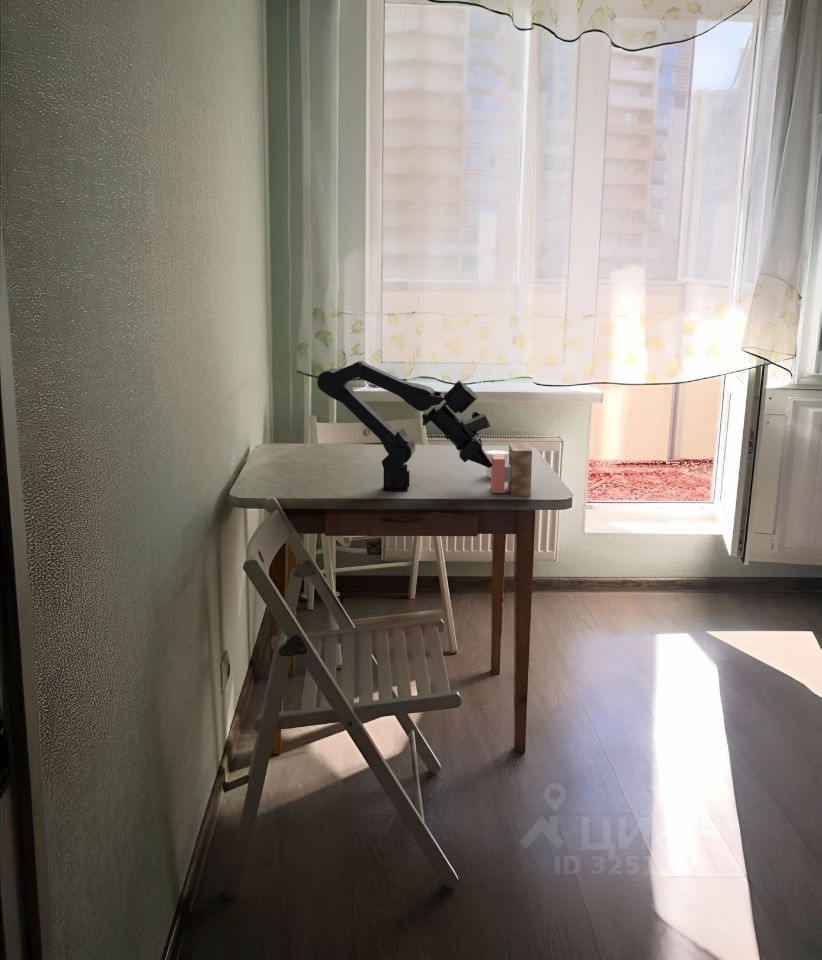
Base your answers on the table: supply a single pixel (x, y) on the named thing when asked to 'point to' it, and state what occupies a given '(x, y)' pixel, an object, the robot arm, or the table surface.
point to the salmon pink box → (499, 473)
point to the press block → (520, 469)
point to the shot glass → (489, 455)
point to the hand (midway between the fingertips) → (491, 466)
